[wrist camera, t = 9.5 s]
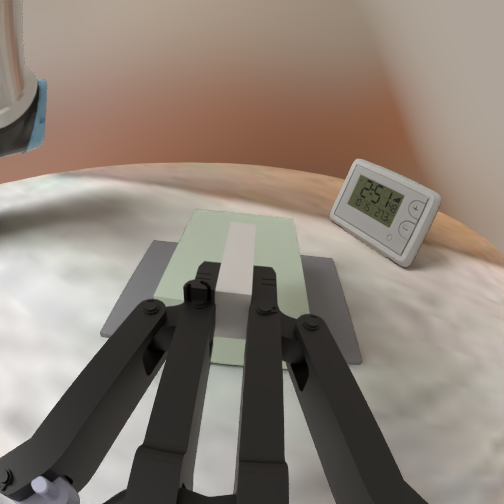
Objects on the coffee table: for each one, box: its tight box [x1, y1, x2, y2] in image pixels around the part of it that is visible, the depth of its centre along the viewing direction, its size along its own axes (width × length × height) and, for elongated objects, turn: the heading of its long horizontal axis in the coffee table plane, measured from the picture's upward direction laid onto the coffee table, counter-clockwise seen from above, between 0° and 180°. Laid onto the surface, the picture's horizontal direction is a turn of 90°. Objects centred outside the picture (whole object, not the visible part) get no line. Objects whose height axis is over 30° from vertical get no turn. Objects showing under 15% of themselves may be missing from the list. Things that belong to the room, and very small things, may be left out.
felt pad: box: [100, 240, 362, 364], centre depth 30 cm, size 16×22×1 cm
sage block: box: [153, 209, 310, 369], centre depth 26 cm, size 6×10×14 cm
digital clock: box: [330, 159, 441, 267], centre depth 40 cm, size 16×9×11 cm, turn 20°
